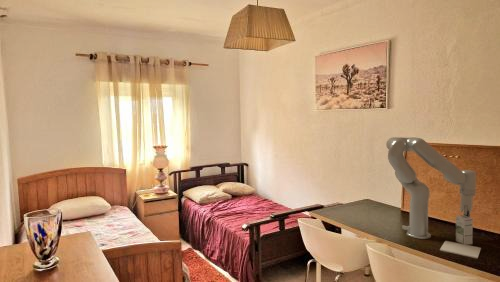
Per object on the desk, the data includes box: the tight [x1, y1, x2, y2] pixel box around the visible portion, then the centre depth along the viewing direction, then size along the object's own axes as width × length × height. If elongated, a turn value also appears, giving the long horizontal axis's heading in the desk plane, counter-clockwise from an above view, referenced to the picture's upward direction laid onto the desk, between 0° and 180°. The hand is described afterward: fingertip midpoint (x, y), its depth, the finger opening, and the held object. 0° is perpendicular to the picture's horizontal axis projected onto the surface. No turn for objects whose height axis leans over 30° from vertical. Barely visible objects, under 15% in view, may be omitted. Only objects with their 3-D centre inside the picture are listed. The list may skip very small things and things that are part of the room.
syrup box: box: [455, 214, 474, 246], centre depth 174 cm, size 6×6×14 cm
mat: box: [439, 240, 482, 259], centre depth 165 cm, size 16×15×1 cm
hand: (466, 223), depth 182 cm, fingers closed
